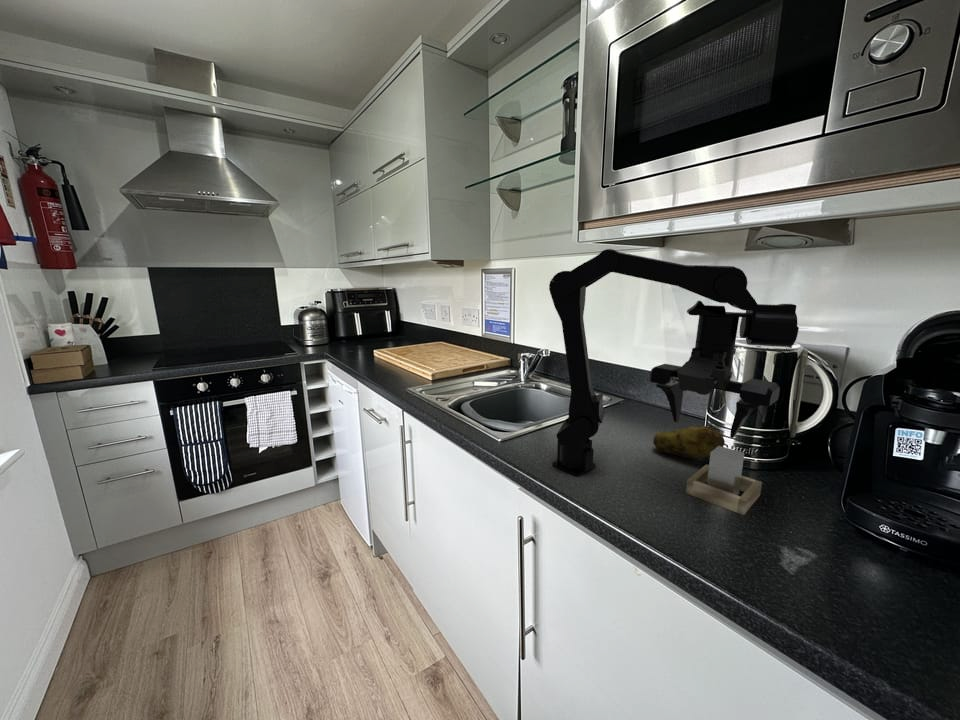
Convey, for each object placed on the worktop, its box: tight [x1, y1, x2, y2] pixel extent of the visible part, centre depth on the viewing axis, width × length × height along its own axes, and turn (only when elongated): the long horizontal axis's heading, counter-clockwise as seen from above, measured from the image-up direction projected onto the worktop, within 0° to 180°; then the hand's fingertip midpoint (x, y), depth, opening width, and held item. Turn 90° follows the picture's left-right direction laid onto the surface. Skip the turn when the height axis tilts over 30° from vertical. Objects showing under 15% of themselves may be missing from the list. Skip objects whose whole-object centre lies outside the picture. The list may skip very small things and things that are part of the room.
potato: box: [652, 425, 726, 459], centre depth 82 cm, size 8×13×8 cm, turn 26°
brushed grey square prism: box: [706, 446, 745, 496], centre depth 68 cm, size 4×4×8 cm
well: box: [685, 464, 763, 516], centre depth 68 cm, size 9×9×2 cm
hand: (702, 429), depth 68 cm, fingers open, 9 cm apart
